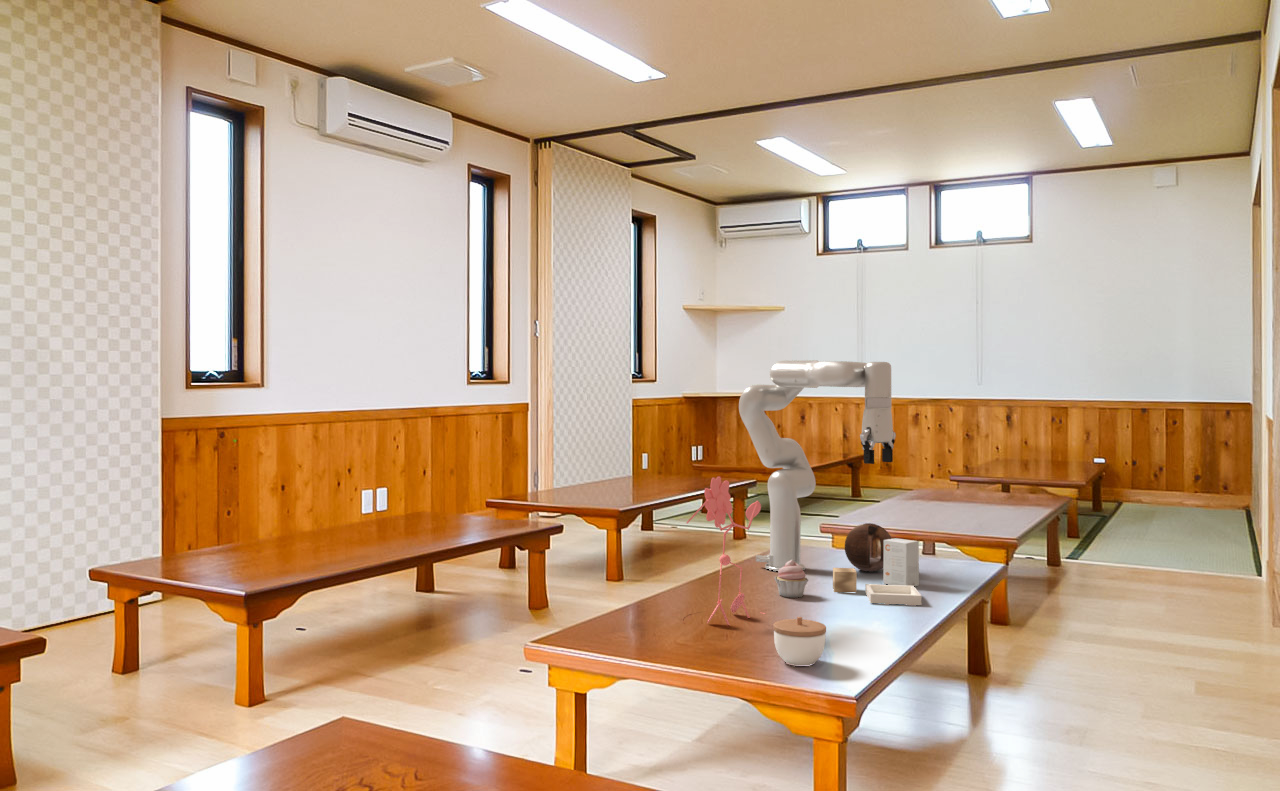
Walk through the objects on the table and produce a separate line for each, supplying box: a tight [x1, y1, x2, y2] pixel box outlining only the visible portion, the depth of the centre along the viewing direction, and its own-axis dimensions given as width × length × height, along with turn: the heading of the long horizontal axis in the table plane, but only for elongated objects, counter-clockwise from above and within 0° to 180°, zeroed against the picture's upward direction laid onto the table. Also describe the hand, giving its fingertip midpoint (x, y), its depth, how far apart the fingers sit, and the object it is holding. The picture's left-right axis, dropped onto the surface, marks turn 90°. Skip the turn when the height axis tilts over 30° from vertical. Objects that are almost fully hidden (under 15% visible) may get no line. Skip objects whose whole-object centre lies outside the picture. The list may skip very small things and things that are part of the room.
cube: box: [832, 567, 858, 593], centre depth 260 cm, size 6×6×6 cm
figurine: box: [686, 476, 766, 626], centre depth 227 cm, size 15×26×35 cm, turn 141°
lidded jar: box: [772, 616, 827, 665], centre depth 190 cm, size 11×11×9 cm
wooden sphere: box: [844, 522, 893, 573], centre depth 289 cm, size 15×15×15 cm
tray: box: [864, 583, 922, 606], centre depth 249 cm, size 13×13×3 cm
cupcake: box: [774, 560, 809, 599], centre depth 253 cm, size 9×9×10 cm
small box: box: [882, 538, 920, 587], centre depth 268 cm, size 8×6×13 cm
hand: (878, 462), depth 269 cm, fingers open, 9 cm apart
